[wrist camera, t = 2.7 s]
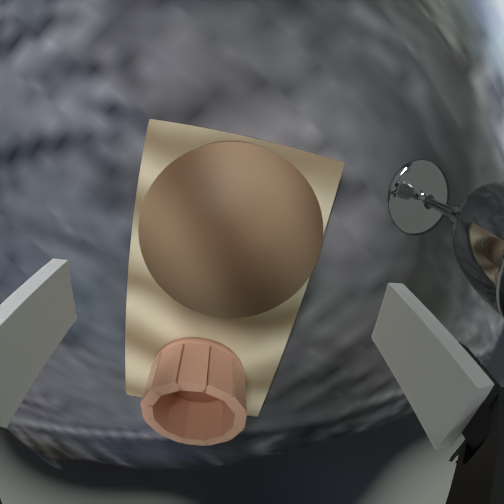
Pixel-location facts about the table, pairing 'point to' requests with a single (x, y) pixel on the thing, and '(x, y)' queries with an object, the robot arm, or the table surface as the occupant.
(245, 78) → the table surface
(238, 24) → the table surface
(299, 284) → the lid
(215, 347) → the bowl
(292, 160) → the serving board
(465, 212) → the wine glass
